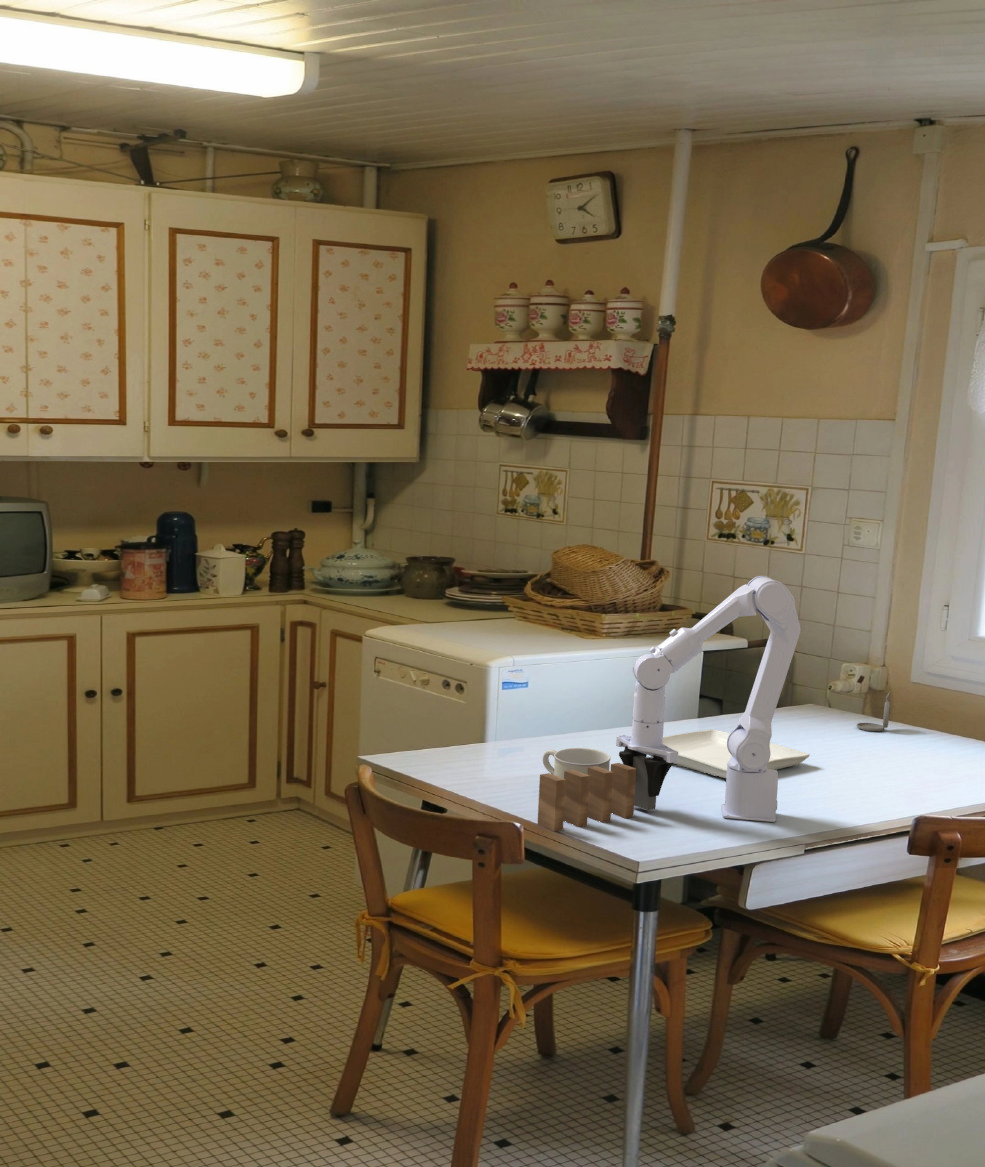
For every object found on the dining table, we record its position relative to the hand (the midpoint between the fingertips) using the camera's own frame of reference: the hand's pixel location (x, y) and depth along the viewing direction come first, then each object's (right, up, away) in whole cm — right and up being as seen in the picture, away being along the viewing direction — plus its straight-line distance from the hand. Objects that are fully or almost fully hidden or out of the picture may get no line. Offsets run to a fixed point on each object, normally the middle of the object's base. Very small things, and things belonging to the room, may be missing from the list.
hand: (643, 792), depth 234 cm
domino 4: (-5, -4, -3) cm, 6 cm away
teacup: (-12, -2, +10) cm, 16 cm away
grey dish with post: (+67, +2, +81) cm, 105 cm away
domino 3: (-9, -4, -6) cm, 12 cm away
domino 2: (-14, -4, -9) cm, 17 cm away
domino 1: (-18, -4, -13) cm, 22 cm away
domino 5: (0, -3, 0) cm, 3 cm away
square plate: (+22, -1, +40) cm, 46 cm away
